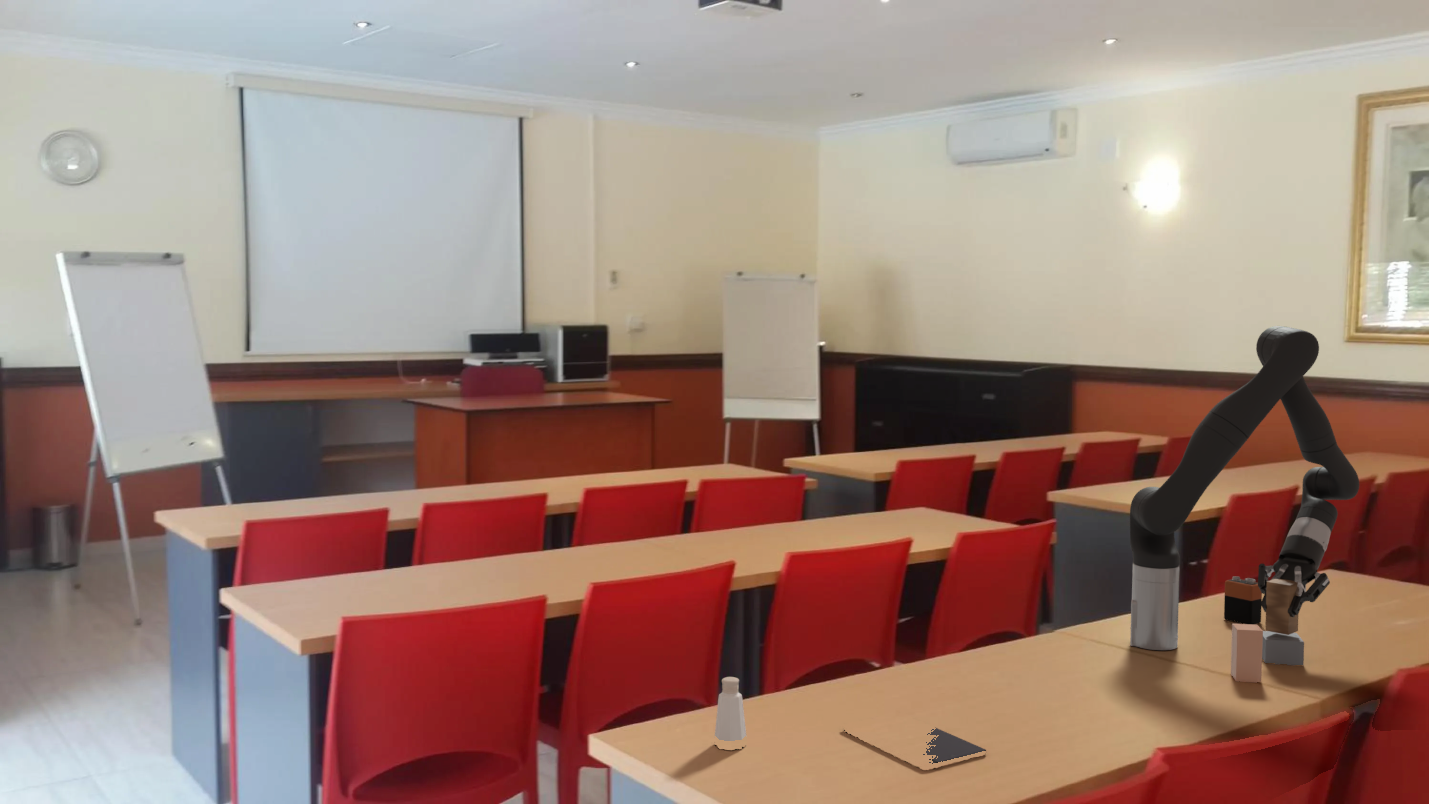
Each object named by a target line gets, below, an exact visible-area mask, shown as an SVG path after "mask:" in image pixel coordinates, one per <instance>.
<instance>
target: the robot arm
mask: <svg viewBox="0 0 1429 804" xmlns="http://www.w3.org/2000/svg"><path fill="white" fill-rule="evenodd" d="M1255 346H1256V355H1257V357H1258V360H1259V361H1260V363H1261V366H1262V367H1261V369H1260V370H1259V371H1258V372H1257V373H1256V375H1254V377H1253V378H1252V379H1250V380H1249V381H1248V382H1247V383H1245V384H1244V385H1242V386H1241V387H1240V388H1238V389H1237V390H1234V391H1233V392H1231V393H1230V394H1228V395H1227V396H1226V397H1224V398H1223V399H1221V400H1220V401H1219V402H1217V403H1216V404H1215V405H1214V406H1213V407H1212V408H1211V409H1210V411H1209V412H1208V413H1207V414H1206V415H1205V416H1204V418H1203V419H1202V420H1201V421H1200V422H1199V424H1198V425H1197V427H1196V428H1195V430H1194V431H1193V433H1192V435H1191V436H1190V439H1189V441H1188V444H1187V446H1186V449H1185V450H1184V453H1183V457H1182V458H1181V461H1180V462H1179V464H1178V465H1177V467H1176V469H1175V470H1174V471H1173V472H1172V473H1171V475H1170V476H1169V477H1168V479H1166V480H1165V482H1164V483H1163V484H1162V485H1161V486H1160V487H1159V486H1147V487H1144V488H1142V489H1140V490H1138V492H1136V494H1135V495H1134V496H1133V497H1132V500H1131V504H1130V509H1129V543H1130V544H1129V545H1130V550H1131V552H1132V580H1131V584H1132V586H1131V587H1132V588H1131V602H1130V643H1129V644H1130V646H1132V647H1137V648H1140V649H1145V650H1151V651H1152V650H1153V651H1170V650H1171V651H1172V650H1175V649H1177V648H1178V642H1179V606H1180V605H1179V603H1180V601H1179V600H1180V598H1179V597H1180V559H1181V557H1180V553H1179V550H1178V547H1177V543H1176V540H1175V532H1176V531H1178V530H1179V529H1180V528H1181V527H1182V526H1183V524H1184V523H1185V522H1186V520H1187V519H1188V517H1189V515H1190V514H1191V513H1192V511H1193V509H1194V508H1195V506H1196V505H1197V503H1198V501H1200V498H1201V497H1202V496H1203V494H1204V493H1205V492H1206V490H1207V488H1208V487H1209V486H1210V485H1211V484H1212V483H1213V481H1214V480H1215V479H1216V478H1217V477H1218V475H1219V474H1220V473H1221V472H1222V471H1223V470H1224V468H1225V467H1226V466H1227V465H1228V463H1229V462H1230V461H1231V460H1232V459H1233V457H1235V456H1236V454H1237V453H1238V452H1239V451H1240V449H1241V448H1242V447H1243V446H1244V445H1245V443H1246V442H1248V440H1249V438H1250V436H1252V434H1254V433H1253V432H1254V431H1255V430H1256V429H1257V428H1258V426H1259V425H1260V424H1261V423H1262V422H1263V421H1264V420H1265V418H1266V417H1267V416H1268V415H1269V414H1270V412H1271V411H1272V409H1274V408H1275V406H1276V405H1277V403H1278V402H1279V401H1281V403H1282V406H1283V407H1284V409H1285V411H1286V412H1285V413H1286V414H1287V416H1288V419H1289V422H1290V424H1291V427H1292V429H1293V430H1292V431H1293V433H1294V435H1295V439H1296V441H1297V444H1298V448H1299V451H1300V453H1301V456H1302V458H1303V459H1304V460H1305V461H1306V462H1307V463H1310V464H1311V463H1312V464H1314V465H1315V464H1316V465H1319V466H1315V467H1312V468H1310V469H1308V471H1307V472H1305V474H1304V475H1303V477H1302V478H1303V479H1302V486H1301V487H1302V489H1301V490H1302V493H1301V503H1300V508H1299V511H1298V513H1297V515H1296V518H1295V521H1294V522H1293V524H1292V526H1291V527H1290V529H1289V531H1288V533H1287V536H1286V538H1285V541H1284V543H1283V545H1282V547H1281V550H1280V552H1279V555H1278V559H1277V560H1276V562H1274V563H1273V565H1266V564H1265V563H1264V562H1262V563H1260V564H1259V565H1258V570H1257V571H1258V573H1257V574H1258V575H1257V577H1258V578H1257V579H1258V580H1257V583H1258V587H1259V589H1260V590H1261V592H1262V595H1263V597H1262V602H1261V609H1262V610H1263V611H1264V613H1266V608H1267V604H1266V589H1267V581H1269V578H1270V577H1271V576H1272V573H1275V574H1274V576H1273V577H1272V578H1271V579H1270V580H1273V579H1284V580H1290V581H1295V582H1298V583H1297V589H1296V592H1295V595H1296V596H1294V597H1293V600H1292V602H1291V605H1290V607H1289V608H1288V614H1289V615H1290V617H1295V615H1298V616H1299V613H1300V611H1301V608H1302V606H1303V604H1304V603H1305V602H1310V603H1314V602H1316V600H1317V599H1318V598H1319V597H1320V596H1321V594H1323V592H1324V591H1325V590H1326V588H1327V587H1328V586H1329V585H1330V579H1329V577H1328V575H1327V574H1326V572H1322V573H1320V572H1318V570H1319V567H1320V565H1321V562H1322V561H1323V557H1324V556H1325V552H1326V551H1327V549H1328V545H1329V542H1330V537H1331V534H1332V531H1333V529H1334V527H1335V524H1336V521H1337V519H1338V515H1339V513H1338V509H1337V507H1336V506H1335V505H1334V504H1333V503H1332V502H1330V501H1348V500H1351V499H1353V498H1355V497H1356V496H1357V495H1358V493H1359V490H1360V479H1359V475H1358V474H1357V471H1356V469H1355V467H1353V465H1352V463H1351V462H1350V461H1349V459H1348V458H1347V457H1346V455H1345V454H1344V452H1343V451H1342V450H1341V448H1340V447H1339V445H1338V443H1337V440H1336V437H1335V433H1334V431H1333V428H1332V425H1331V422H1330V419H1329V418H1328V415H1327V414H1326V412H1325V410H1324V409H1323V408H1322V406H1321V404H1320V403H1319V402H1318V400H1317V398H1316V397H1315V396H1314V394H1313V392H1312V391H1311V389H1310V387H1309V386H1308V384H1307V383H1306V380H1305V378H1304V376H1305V375H1306V374H1307V373H1308V371H1309V370H1311V368H1312V367H1313V366H1314V364H1315V363H1316V360H1317V359H1318V356H1319V353H1320V352H1319V351H1320V344H1319V341H1318V338H1317V337H1316V336H1315V335H1314V334H1313V333H1311V332H1309V331H1306V330H1303V329H1299V328H1295V327H1290V326H1282V325H1281V326H1280V325H1275V326H1270V327H1268V328H1266V329H1265V330H1263V332H1261V333H1260V335H1259V337H1258V338H1257V341H1256V345H1255ZM1327 500H1328V501H1327ZM1313 580H1314V581H1313ZM1312 581H1313V582H1312ZM1311 582H1312V584H1311V585H1310V586H1309V588H1308V589H1307V584H1309V583H1311Z"/></svg>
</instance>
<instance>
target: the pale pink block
mask: <svg viewBox="0 0 1429 804" xmlns="http://www.w3.org/2000/svg"><path fill="white" fill-rule="evenodd" d="M1263 631H1264V630H1263V629H1262V628H1261V627H1260V626H1259V625H1258V624H1242V623H1232V624H1231V647H1230V648H1231V653H1230V655H1231V656H1230V675H1231V677H1232V676H1233V677H1232V678H1233V679H1234V681H1235V682H1239V681H1240V683H1242V682H1245V683H1257V682H1261V683H1262V676H1263V675H1262V671H1263V670H1262V668H1263V660H1262V644H1263Z"/></svg>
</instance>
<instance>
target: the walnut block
mask: <svg viewBox="0 0 1429 804" xmlns="http://www.w3.org/2000/svg"><path fill="white" fill-rule="evenodd" d="M1297 583H1298V582H1295V581H1290V580H1284V579H1273V580H1271V579H1270V580H1268V581H1267V589H1266V604H1267V608H1266V612H1265V627H1264V628H1265V630H1264V631H1270V632H1275V633H1281V634H1286V635H1289V634H1292V633H1297V632H1299V614H1298V615H1295V617H1290V615H1289V614H1288V608H1289V607H1290V605H1291V602H1292V600H1293V597H1294V596H1296V595H1295V592H1296V589H1297Z"/></svg>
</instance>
